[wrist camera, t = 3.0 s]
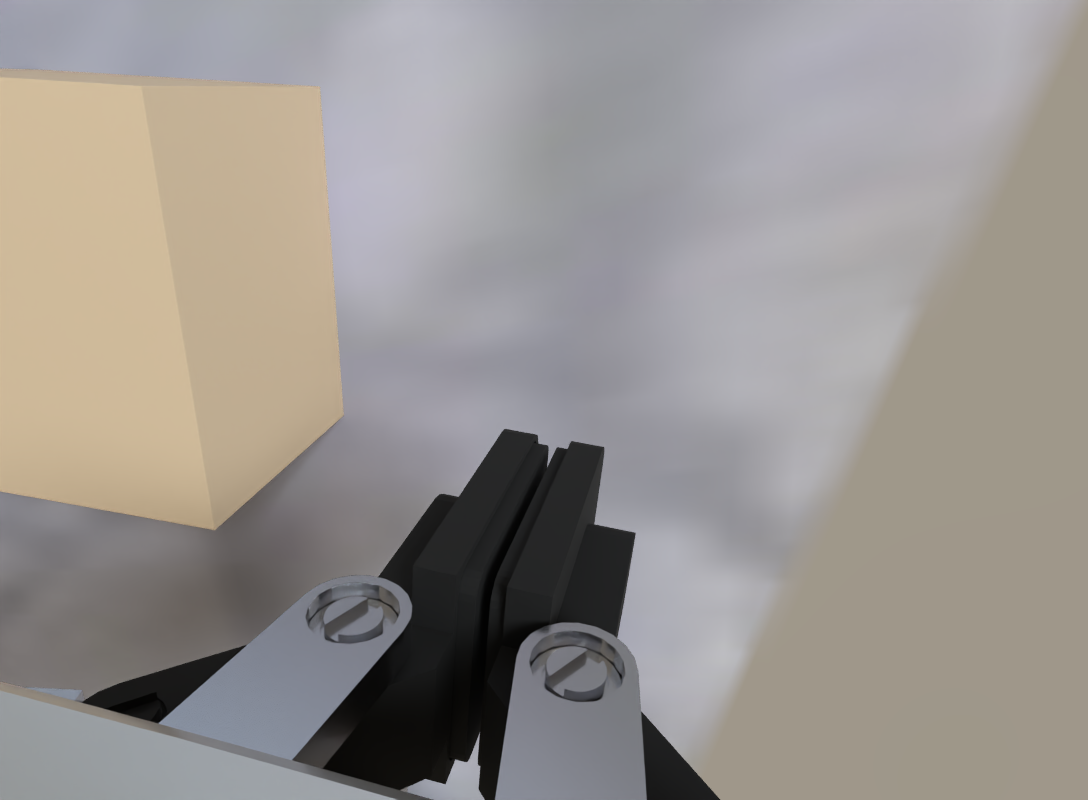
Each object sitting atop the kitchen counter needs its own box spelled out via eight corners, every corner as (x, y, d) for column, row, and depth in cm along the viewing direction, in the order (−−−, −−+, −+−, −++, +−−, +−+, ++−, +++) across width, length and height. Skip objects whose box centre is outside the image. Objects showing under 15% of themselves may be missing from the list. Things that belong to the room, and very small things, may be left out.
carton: (43, 69, 21) (-236, 62, 15) (322, 86, 20) (141, 86, 13) (110, 379, 25) (-88, 475, 19) (345, 413, 24) (214, 530, 18)
